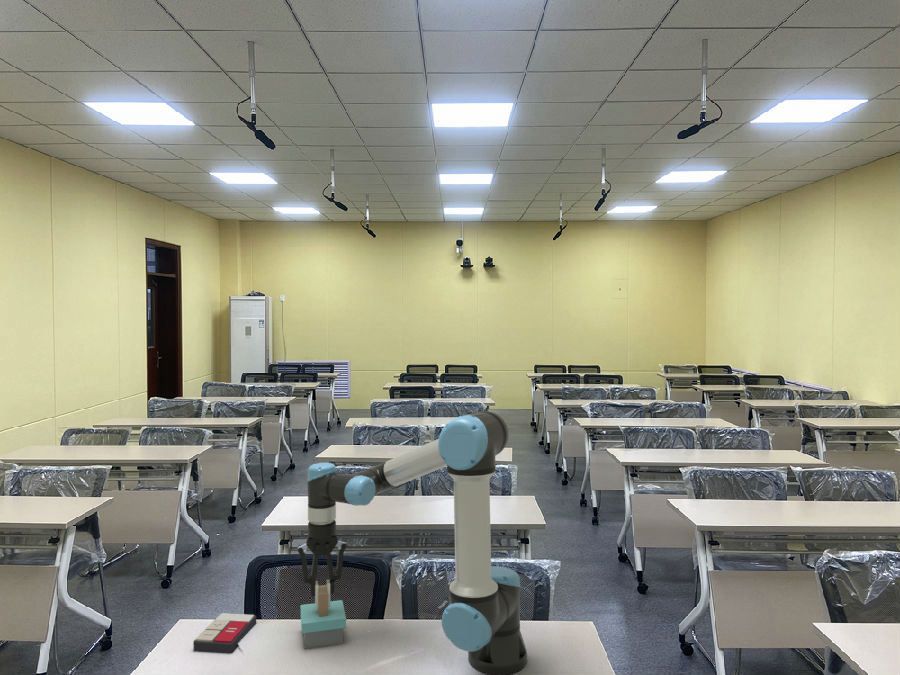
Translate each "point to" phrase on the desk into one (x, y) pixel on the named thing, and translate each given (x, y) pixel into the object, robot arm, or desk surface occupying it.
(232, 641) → the calculator
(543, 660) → the desk surface
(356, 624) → the desk surface
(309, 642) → the storage box
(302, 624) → the lid
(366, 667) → the desk surface
